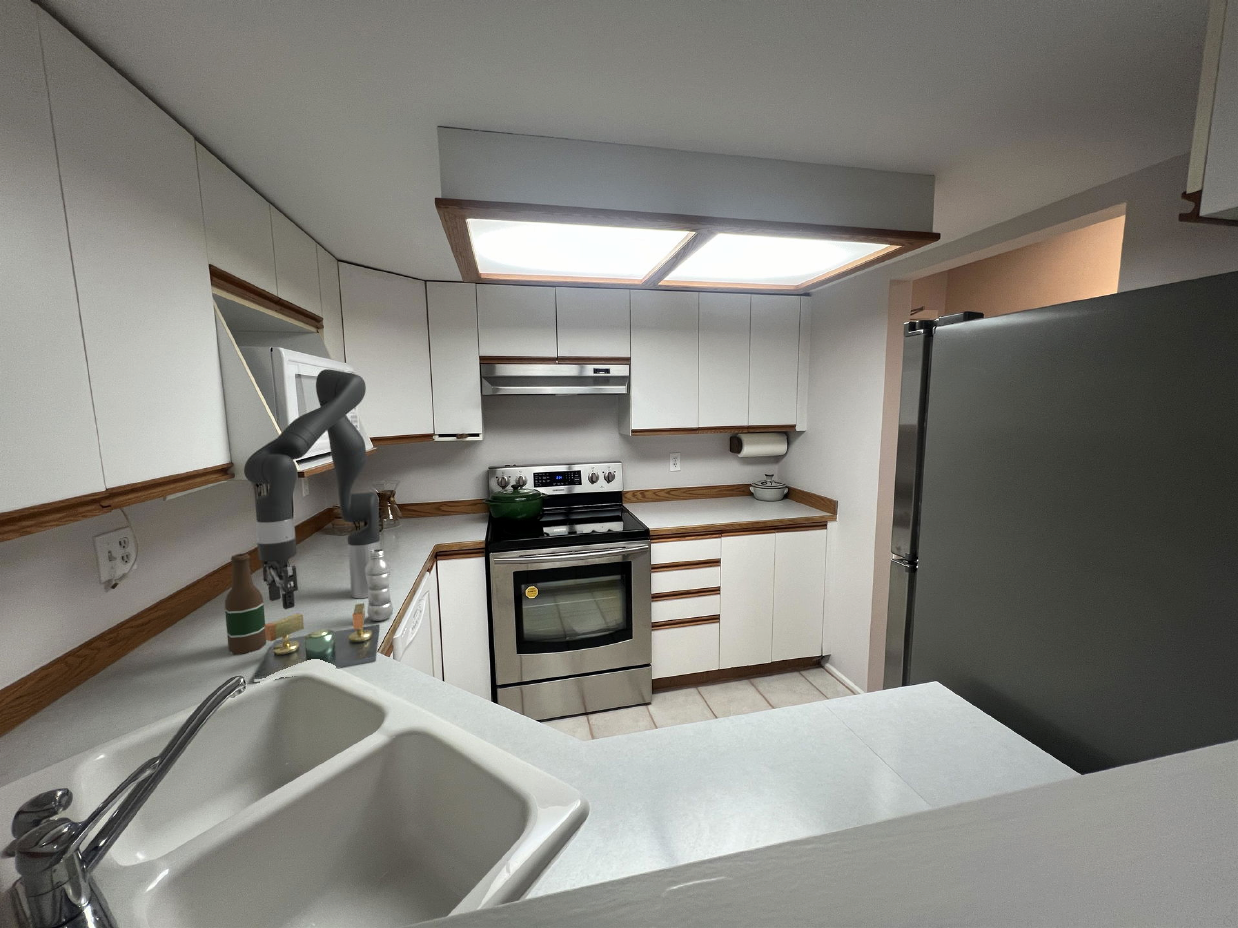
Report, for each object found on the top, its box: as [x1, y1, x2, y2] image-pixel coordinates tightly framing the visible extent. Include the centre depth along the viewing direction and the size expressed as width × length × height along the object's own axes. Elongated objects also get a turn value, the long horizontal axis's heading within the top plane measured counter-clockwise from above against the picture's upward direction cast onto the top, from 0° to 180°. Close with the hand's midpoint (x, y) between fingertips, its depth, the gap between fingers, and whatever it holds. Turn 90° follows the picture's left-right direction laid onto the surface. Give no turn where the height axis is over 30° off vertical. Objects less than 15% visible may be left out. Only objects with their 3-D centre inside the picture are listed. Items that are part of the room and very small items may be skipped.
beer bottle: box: [224, 553, 267, 655], centre depth 125 cm, size 8×8×24 cm
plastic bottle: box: [365, 548, 394, 622], centre depth 143 cm, size 6×7×20 cm
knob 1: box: [265, 613, 305, 655], centre depth 121 cm, size 8×5×8 cm
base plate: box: [253, 624, 381, 680], centre depth 123 cm, size 20×24×7 cm
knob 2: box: [349, 602, 372, 642], centre depth 128 cm, size 8×5×8 cm
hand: (281, 603), depth 121 cm, fingers open, 8 cm apart
